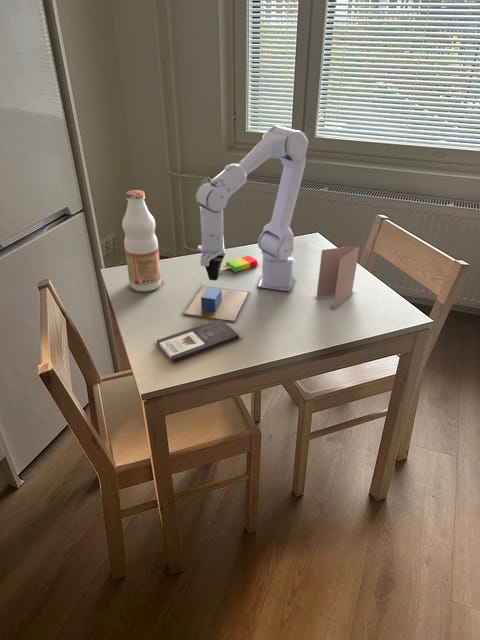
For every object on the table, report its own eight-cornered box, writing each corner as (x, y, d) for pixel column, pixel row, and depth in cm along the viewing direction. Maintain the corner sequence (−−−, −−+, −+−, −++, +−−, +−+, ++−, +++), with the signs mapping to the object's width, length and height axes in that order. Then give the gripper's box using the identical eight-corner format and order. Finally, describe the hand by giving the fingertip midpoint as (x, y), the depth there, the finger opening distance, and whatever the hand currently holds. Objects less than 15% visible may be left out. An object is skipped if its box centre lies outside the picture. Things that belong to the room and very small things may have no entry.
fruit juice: (123, 288, 135) (109, 194, 120) (142, 275, 142) (131, 185, 127) (149, 295, 132) (139, 199, 117) (167, 281, 139) (159, 190, 124)
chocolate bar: (238, 335, 113) (173, 359, 105) (238, 338, 113) (173, 362, 105) (219, 318, 119) (156, 340, 111) (220, 321, 120) (157, 343, 111)
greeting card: (350, 291, 135) (358, 244, 127) (363, 303, 129) (371, 254, 121) (315, 296, 132) (320, 248, 124) (326, 309, 126) (332, 259, 118)
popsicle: (258, 265, 149) (258, 260, 148) (219, 277, 142) (219, 271, 141) (249, 259, 153) (249, 254, 152) (210, 270, 145) (210, 265, 144)
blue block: (221, 288, 126) (215, 299, 121) (221, 301, 128) (215, 312, 124) (207, 287, 127) (200, 297, 122) (208, 299, 129) (201, 310, 124)
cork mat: (248, 293, 133) (248, 292, 133) (234, 321, 120) (234, 320, 120) (202, 287, 136) (202, 286, 136) (184, 314, 123) (184, 313, 123)
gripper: (206, 220, 124) (207, 266, 131) (187, 241, 112) (190, 289, 119) (231, 223, 122) (231, 268, 129) (215, 244, 110) (216, 293, 118)
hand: (213, 279), depth 124 cm, fingers closed
